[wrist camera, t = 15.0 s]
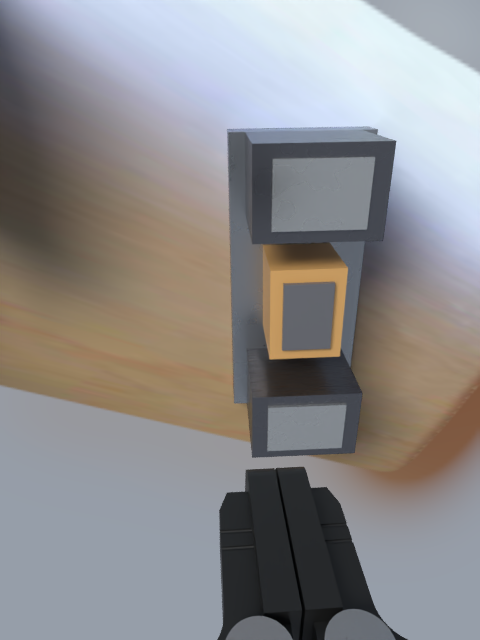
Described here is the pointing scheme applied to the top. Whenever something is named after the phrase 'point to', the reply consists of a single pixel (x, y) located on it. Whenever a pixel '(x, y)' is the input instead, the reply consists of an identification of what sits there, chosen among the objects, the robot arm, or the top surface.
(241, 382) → the rail plate
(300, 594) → the robot arm
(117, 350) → the top surface
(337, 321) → the orange module
